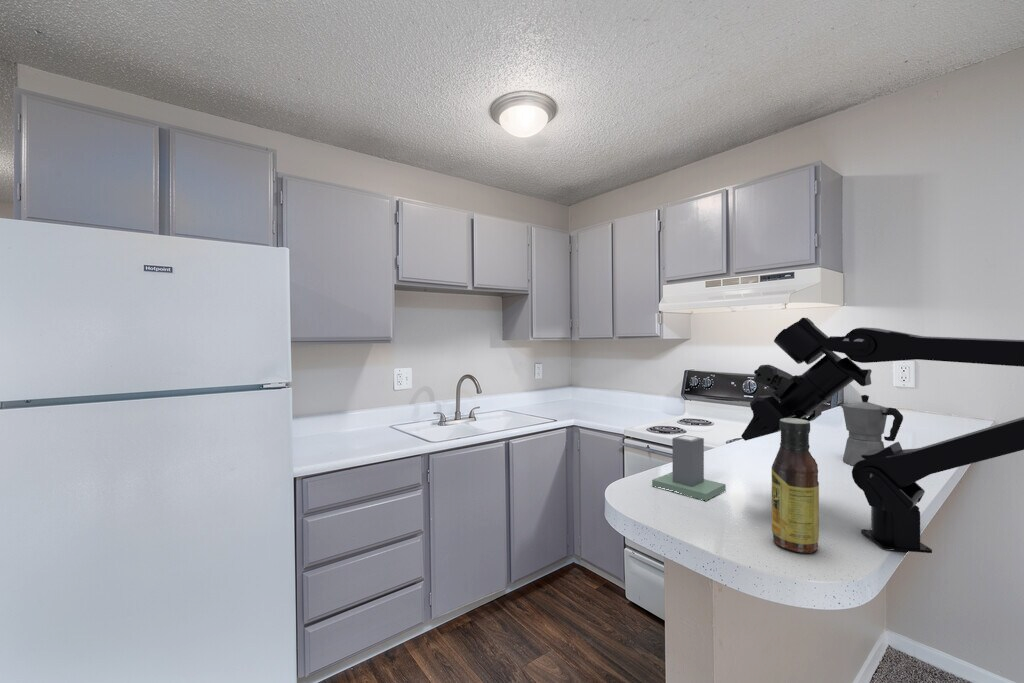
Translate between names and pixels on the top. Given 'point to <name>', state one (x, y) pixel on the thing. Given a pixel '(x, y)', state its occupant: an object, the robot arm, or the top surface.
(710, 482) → the header board
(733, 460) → the top surface
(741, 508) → the top surface
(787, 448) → the sauce bottle
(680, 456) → the plug block
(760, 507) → the top surface
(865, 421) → the coffeepot
